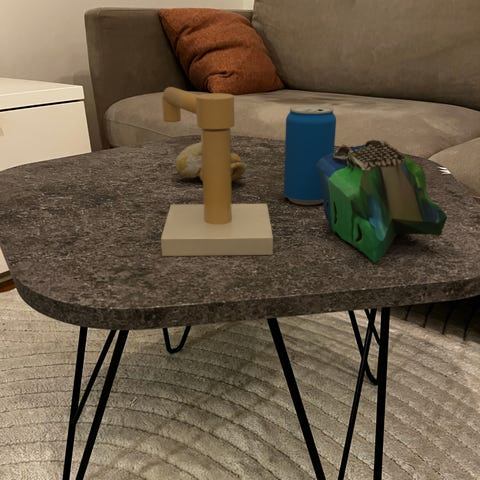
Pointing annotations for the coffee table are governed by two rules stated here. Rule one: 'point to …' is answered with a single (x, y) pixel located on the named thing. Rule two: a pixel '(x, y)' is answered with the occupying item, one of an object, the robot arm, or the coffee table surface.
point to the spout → (199, 108)
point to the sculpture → (376, 197)
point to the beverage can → (307, 151)
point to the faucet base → (217, 212)
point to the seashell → (192, 163)
